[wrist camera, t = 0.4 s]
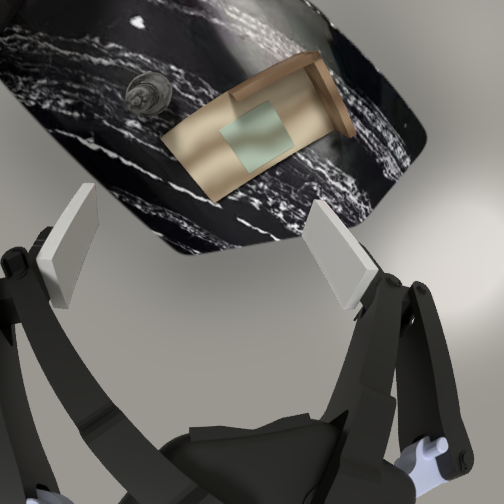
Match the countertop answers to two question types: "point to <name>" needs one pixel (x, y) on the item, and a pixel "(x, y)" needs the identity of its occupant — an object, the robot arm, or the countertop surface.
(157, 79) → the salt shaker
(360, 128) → the countertop surface
